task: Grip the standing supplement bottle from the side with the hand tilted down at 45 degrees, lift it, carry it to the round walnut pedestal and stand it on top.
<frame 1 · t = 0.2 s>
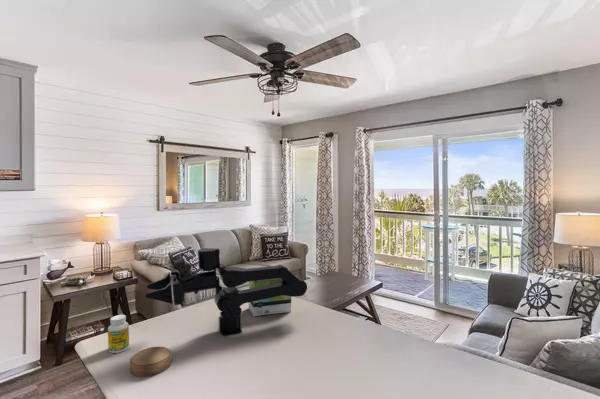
hand: (146, 291, 96), 17 cm above the kitchen island, tool horizontal, fingers open, 9 cm apart
tea box: (269, 310, 125), on the kitchen island
pedestal: (151, 366, 86), on the kitchen island
supplement bottle: (118, 349, 95), on the kitchen island
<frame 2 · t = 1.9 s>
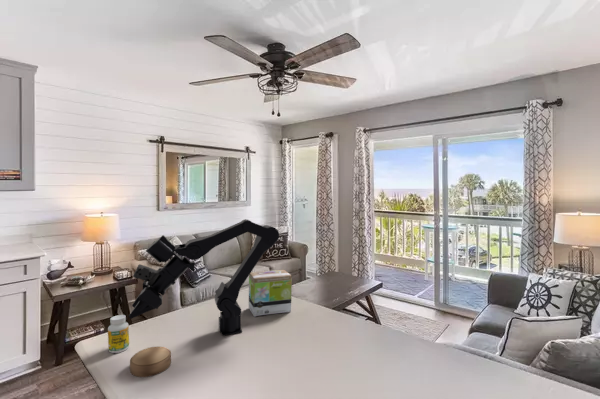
hand: (131, 311, 96), 11 cm above the kitchen island, tool tilted 45°, fingers open, 9 cm apart
nothing on the kitchen island moved.
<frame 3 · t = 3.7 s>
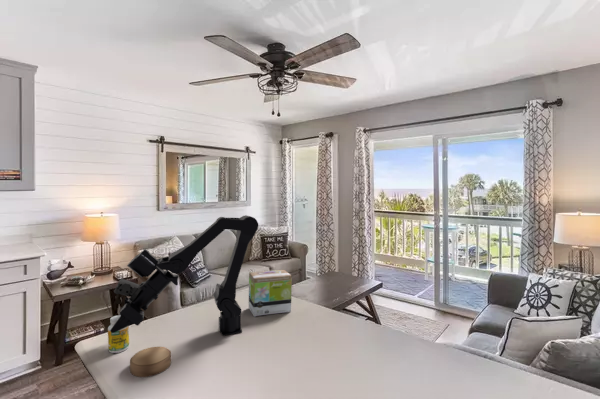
hand: (113, 327, 94), 7 cm above the kitchen island, tool tilted 45°, fingers closed on supplement bottle, 5 cm apart
supplement bottle: (118, 349, 95), on the kitchen island, touching gripper
everything else where it was.
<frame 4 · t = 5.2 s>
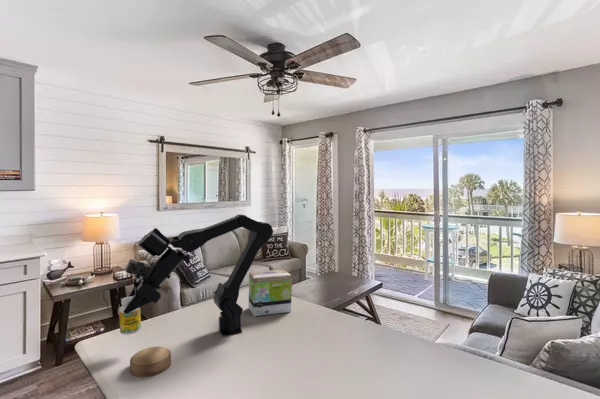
hand: (124, 309, 91), 13 cm above the kitchen island, tool tilted 45°, fingers closed on supplement bottle, 5 cm apart
supplement bottle: (130, 331, 92), point 6 cm above the kitchen island, touching gripper
everything else where it was.
when the fingers open (11 cm above the kitchen island, at t = 6.8 s): supplement bottle stays where it is, resting on pedestal.
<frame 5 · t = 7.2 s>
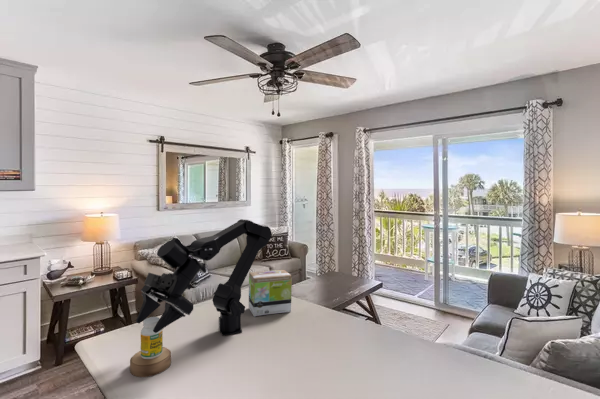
hand: (145, 327, 84), 11 cm above the kitchen island, tool tilted 45°, fingers open, 9 cm apart
supplement bottle: (151, 355, 86), point 3 cm above the kitchen island, touching pedestal
everything else where it was.
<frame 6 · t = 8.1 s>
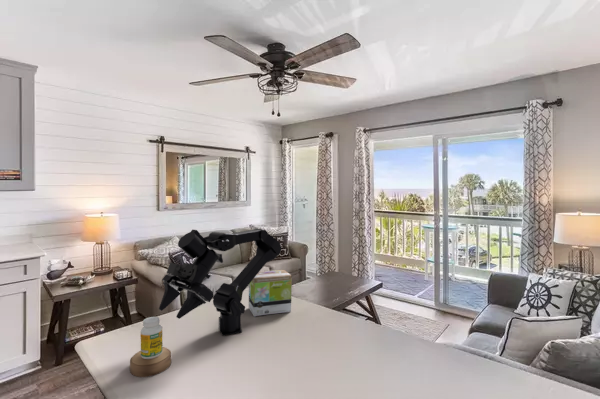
hand: (168, 313, 89), 13 cm above the kitchen island, tool tilted 45°, fingers open, 9 cm apart
nothing on the kitchen island moved.
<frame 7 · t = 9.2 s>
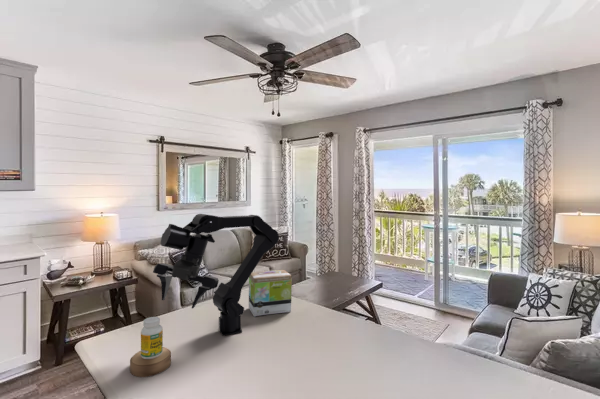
hand: (177, 304, 96), 13 cm above the kitchen island, tool tilted 20°, fingers open, 9 cm apart
nothing on the kitchen island moved.
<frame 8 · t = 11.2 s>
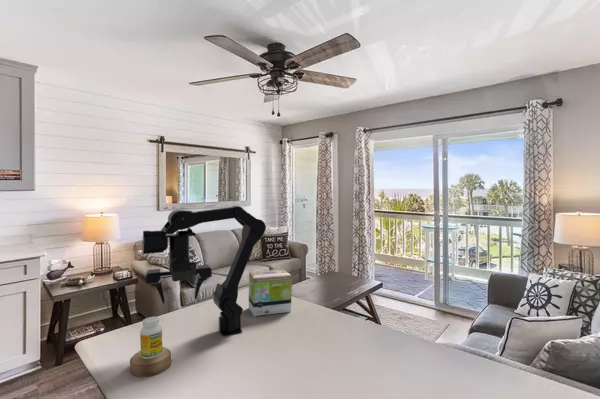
hand: (179, 301, 98), 13 cm above the kitchen island, tool pointing down, fingers open, 9 cm apart
nothing on the kitchen island moved.
at the end: supplement bottle inside the target area on the pedestal (0.2 cm from its centre), point 2.8 cm above the pedestal's base; supplement bottle tilted 1°; the gripper is holding nothing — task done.
